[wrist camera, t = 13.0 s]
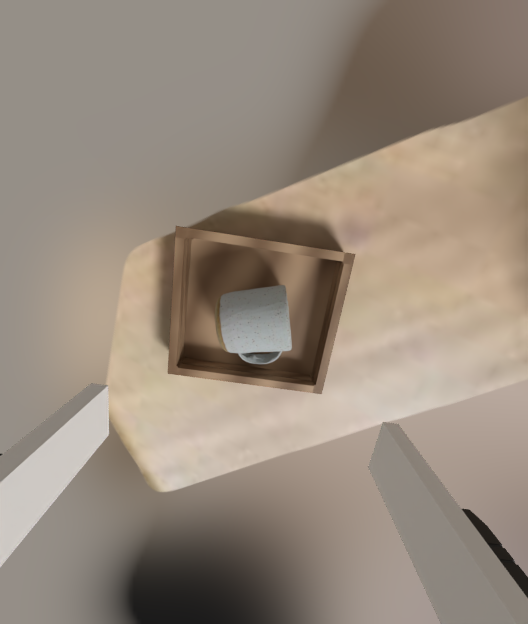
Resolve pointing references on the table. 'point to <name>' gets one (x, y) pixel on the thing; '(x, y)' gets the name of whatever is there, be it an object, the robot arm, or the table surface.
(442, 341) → the table surface
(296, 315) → the crate
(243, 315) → the ceramic mug
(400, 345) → the table surface
